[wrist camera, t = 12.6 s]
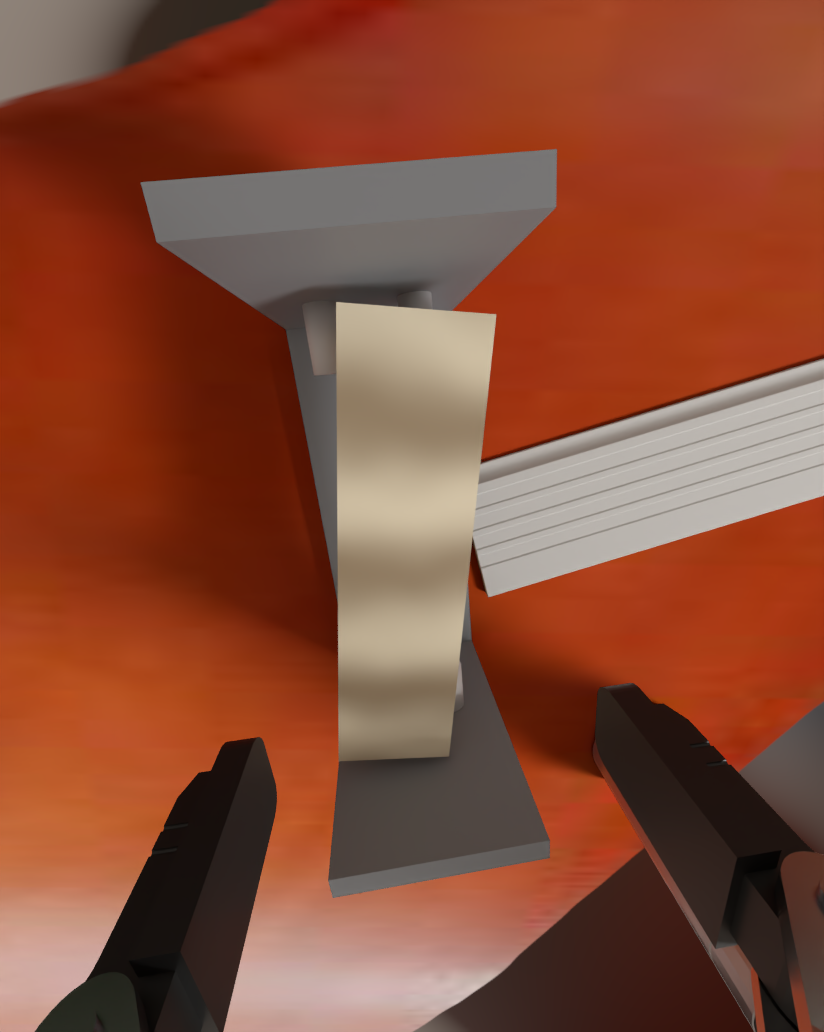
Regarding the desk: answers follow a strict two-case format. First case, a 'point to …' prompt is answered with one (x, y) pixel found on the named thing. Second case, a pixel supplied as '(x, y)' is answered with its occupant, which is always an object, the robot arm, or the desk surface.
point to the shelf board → (405, 519)
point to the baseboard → (651, 479)
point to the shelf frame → (312, 342)
